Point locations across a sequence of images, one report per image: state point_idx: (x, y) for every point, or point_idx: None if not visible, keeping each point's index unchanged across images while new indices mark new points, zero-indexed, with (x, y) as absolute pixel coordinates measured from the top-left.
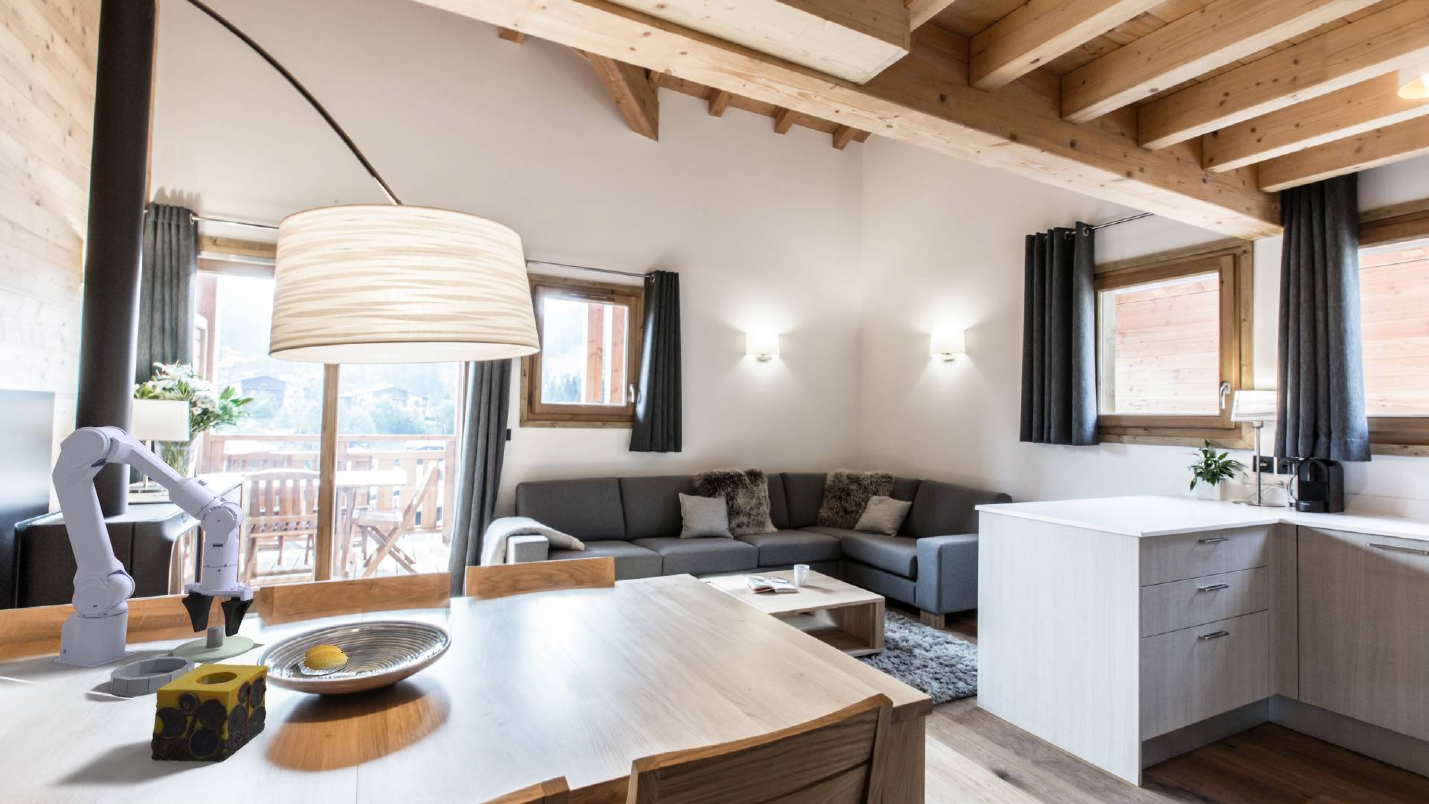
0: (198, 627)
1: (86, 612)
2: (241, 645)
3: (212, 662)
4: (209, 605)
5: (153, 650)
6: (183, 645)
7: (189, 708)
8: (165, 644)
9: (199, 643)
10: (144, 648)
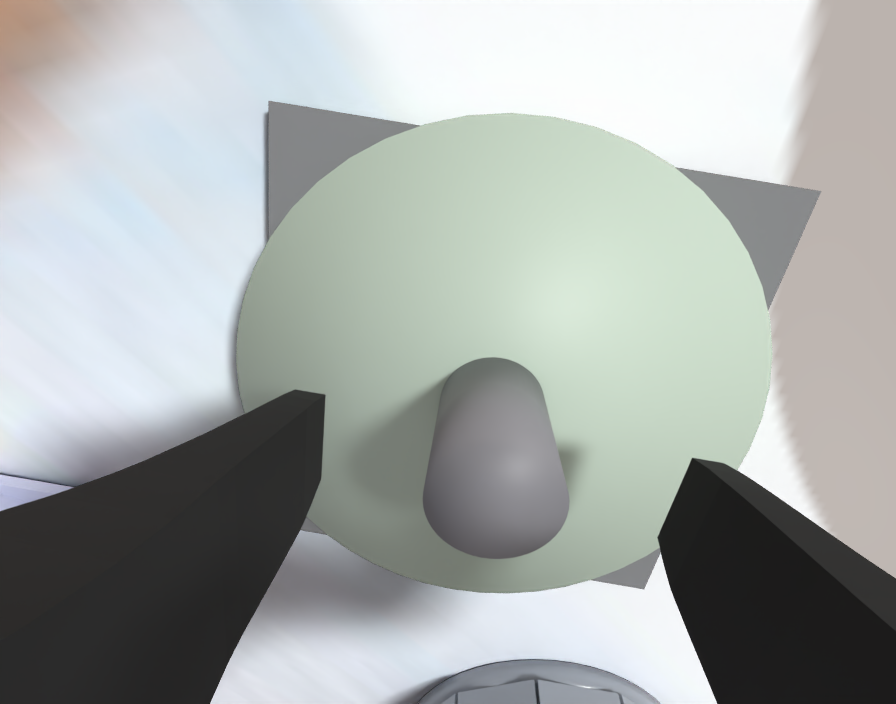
0: (306, 498)
1: None
2: (687, 353)
3: (636, 570)
4: (141, 576)
5: (101, 403)
6: None
7: None
8: (38, 287)
9: (334, 365)
10: (14, 380)
